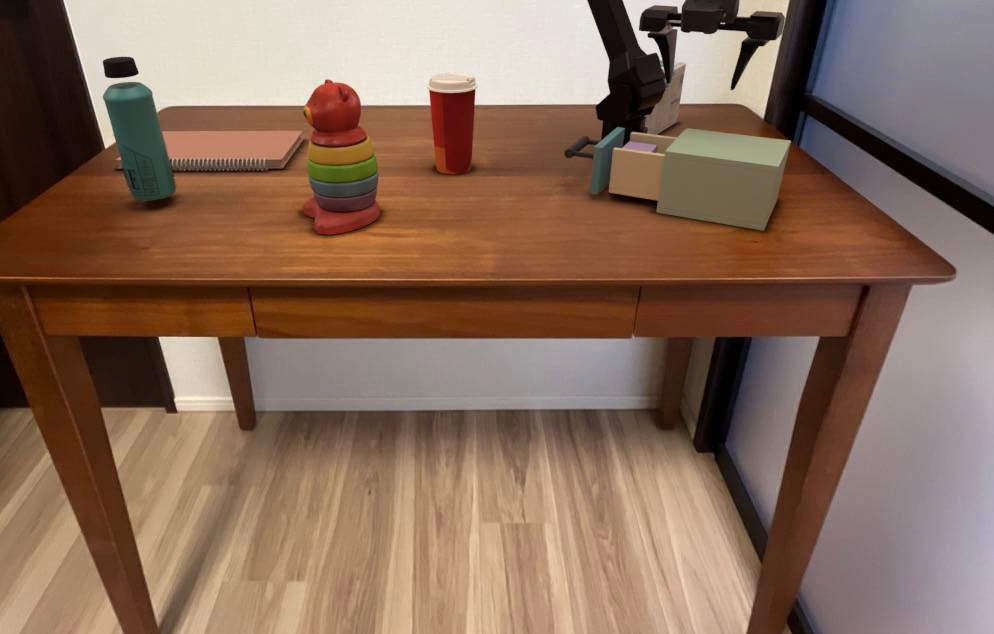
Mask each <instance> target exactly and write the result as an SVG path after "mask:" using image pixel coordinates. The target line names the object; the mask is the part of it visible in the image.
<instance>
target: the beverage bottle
mask: <svg viewBox="0 0 994 634" xmlns="http://www.w3.org/2000/svg"><path fill="white" fill-rule="evenodd" d="M102 66H103V73H104V76H105V78H107V79H125V78H130V77H135V76H137V75H139V74H140V73H139V69H138V67H137V63H136V61H135V59H134V58H133V57H132V56H113V57H109V58H105V59H103V60H102ZM102 100H103V101H104V105H105V107H106V111H107V115H108V118H109V122H110V126H111V130H112V134H113V137H114V140H115V143H116V147H117V151H118V155H119V157H118V158H120V157H121V160H120V161H121V162H122V164H123V166H122V168H124V169H122V172H123V175H124V179H125V182H126V185H127V188H128V191H129V193H130V194H131V196H132V197H133V199H135V200H138V201H144V202H145V201H146V202H147V201H156V200H162V199H165V198H169V197H171V196H172V195H174V194H175V193H176V190H177V186H178V185H177V182H176V179H175V174H174V169H171V167H172V165H170V163H171V161H169V159H170V158H169V157H168V152H167V150H168V149H166V144H165V143H166V142H165V141H164V137H163V133H162V131H163V130H162V127H161V122H160V120H159V116H158V112H157V111H158V110H157V108H156V105H155V99H154V96H153V91H152V90H151V88H149V86H147V85H145V84H143V83H142V82H139V81H123V82H117V83H114V84H111V85H109V86H108V87H107V88H106V90H105V91H104V92H103V94H102Z"/></svg>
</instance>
